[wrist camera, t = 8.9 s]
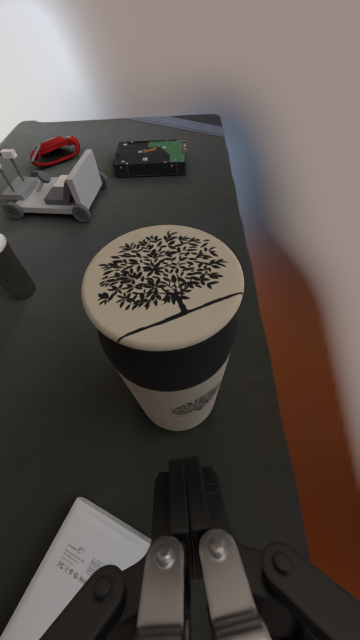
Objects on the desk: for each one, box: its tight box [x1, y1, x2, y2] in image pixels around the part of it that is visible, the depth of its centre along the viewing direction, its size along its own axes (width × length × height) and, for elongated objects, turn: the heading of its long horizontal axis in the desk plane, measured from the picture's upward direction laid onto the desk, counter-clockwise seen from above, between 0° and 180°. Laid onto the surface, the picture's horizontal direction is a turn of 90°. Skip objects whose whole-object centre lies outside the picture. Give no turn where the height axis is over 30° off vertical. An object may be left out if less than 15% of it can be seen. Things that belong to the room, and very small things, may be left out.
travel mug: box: [81, 225, 244, 431], centre depth 19 cm, size 8×8×18 cm
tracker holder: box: [28, 136, 80, 166], centre depth 55 cm, size 12×4×10 cm
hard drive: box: [0, 497, 151, 640], centre depth 17 cm, size 2×8×12 cm
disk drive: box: [113, 140, 186, 177], centre depth 52 cm, size 10×3×15 cm
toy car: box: [0, 149, 108, 222], centre depth 43 cm, size 18×10×12 cm
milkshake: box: [0, 234, 35, 299], centre depth 31 cm, size 4×5×10 cm
